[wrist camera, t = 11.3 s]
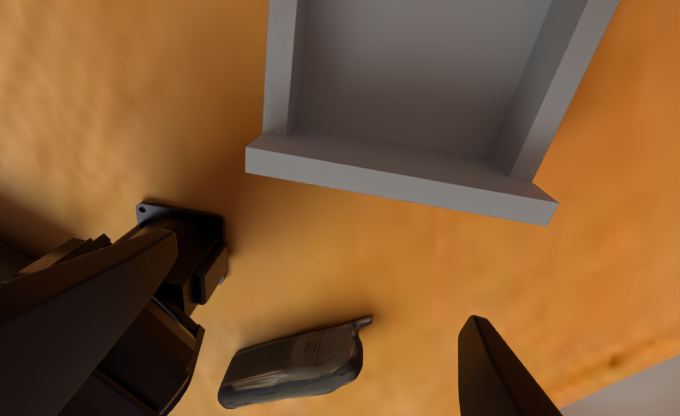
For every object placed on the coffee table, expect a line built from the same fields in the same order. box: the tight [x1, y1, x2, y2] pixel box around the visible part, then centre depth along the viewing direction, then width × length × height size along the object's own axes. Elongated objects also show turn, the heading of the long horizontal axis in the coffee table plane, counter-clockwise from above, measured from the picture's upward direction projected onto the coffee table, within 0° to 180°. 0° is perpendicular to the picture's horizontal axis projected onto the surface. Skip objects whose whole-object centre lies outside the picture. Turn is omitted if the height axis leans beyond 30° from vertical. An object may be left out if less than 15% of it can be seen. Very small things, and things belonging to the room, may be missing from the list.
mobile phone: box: [218, 316, 373, 409], centre depth 27 cm, size 5×3×15 cm
